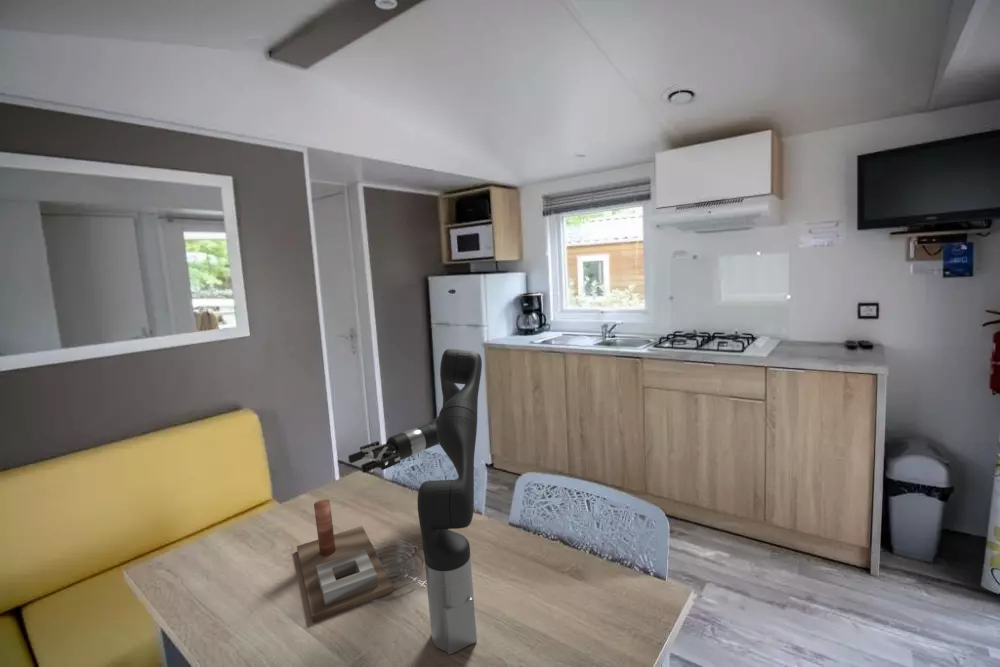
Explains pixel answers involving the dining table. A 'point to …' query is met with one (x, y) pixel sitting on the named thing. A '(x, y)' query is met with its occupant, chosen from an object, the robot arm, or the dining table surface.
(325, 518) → the pin
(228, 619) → the dining table surface
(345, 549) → the socket board
